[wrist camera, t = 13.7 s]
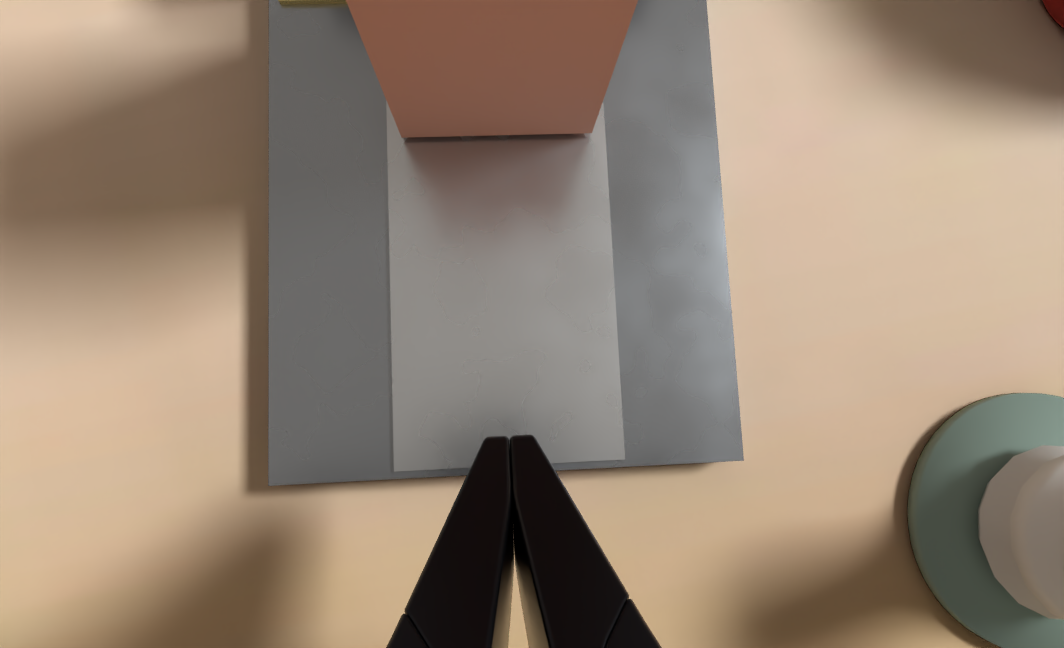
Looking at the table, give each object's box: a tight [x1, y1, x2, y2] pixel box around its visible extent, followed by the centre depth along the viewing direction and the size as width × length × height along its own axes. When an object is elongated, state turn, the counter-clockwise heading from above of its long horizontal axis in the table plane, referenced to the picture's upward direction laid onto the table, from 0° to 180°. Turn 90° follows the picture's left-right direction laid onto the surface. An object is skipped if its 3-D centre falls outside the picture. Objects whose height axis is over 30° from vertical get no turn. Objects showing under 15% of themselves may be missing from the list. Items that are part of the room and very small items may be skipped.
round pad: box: [907, 393, 1064, 648], centre depth 16 cm, size 7×7×1 cm
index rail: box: [268, 0, 744, 486], centre depth 14 cm, size 16×12×5 cm
